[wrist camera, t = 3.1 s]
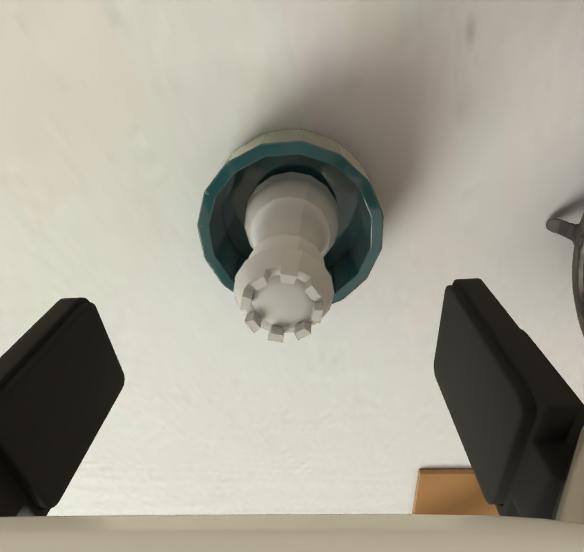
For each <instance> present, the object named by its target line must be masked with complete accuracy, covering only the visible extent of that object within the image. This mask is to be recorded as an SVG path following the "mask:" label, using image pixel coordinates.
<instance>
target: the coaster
mask: <svg viewBox="0 0 584 552" xmlns="http://www.w3.org/2000/svg"><path fill="white" fill-rule="evenodd" d="M412 514H429V515H490V516H500V515H499V513H498V511H497V508H496V506H495V504H488V503H487V501H486V500H485V498H484V496H483V493H482V491H481V488H480V486H479V483H478V481H477V478H476V476H475V473H474V471H473V469H419V473H418V480H417V486H416V493H415V500H414V506H413V513H412Z"/></svg>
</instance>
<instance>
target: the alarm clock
mask: <svg viewBox="0 0 584 552" xmlns="http://www.w3.org/2000/svg"><path fill="white" fill-rule="evenodd" d="M546 227H547V229H548V230H550V231H552V232H555V233H558V234H560V235H562V236H564V237H566V238H568V239H571V240H572V241H573V243H574V253H573V264H572V282H573V294H574V301H575V306H576V311H577V316H578V320H579V324H580V327H581V331H582V333H583V336H584V214H583V216H582V219H581V221H580V223H579V224H572V223H569V222H567V221H564V220H560V219H550V220H548V221H547V223H546Z"/></svg>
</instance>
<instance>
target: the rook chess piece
mask: <svg viewBox="0 0 584 552" xmlns="http://www.w3.org/2000/svg"><path fill="white" fill-rule="evenodd" d="M338 222H339V214H338V208H337V202H336V200H335V198H334V197H333V195H332V194H331V192H330V191H329V189H328V188H327V186H326V185H324V184H323V183H321V182H320V181H318V180H317V179H315V178H314V177H312V176H311V175H306V174H301V173H296V172H287V173H283V174H278V175H273V176H271V177H270V178H268V179H267V180H265V181H264V182H263V183H261V184H260V185H258V186H257V187H256V189H255V191H254V192H253V194H252V195H251V197H250V199H249V200H248V204H247V208H246V216H245V224H244V227H245V230H246V233H247V237H248V240H249V243H250V246H251V247H252V248H253V249H254V250H253V251H252V253H251V254H250V256H249V259H247V260H246V261H245V262H244V264H243V265H242V267H241V268H240V270H239V271H238V273H237V274H236V276H235V284H234V295H235V298H236V301H237V304H238V307H239V309H240V310H241V311H242V312H243V313H244V314H245V315H246V319H245V323H246V324H247V326H248V327H249V328H250V329H251V330H252V331H253V332H254V333H255V332H256V331H257V330H258V329H260V327H263V328H265V329H266V330H268V331H269V334H268V340H271V341H277V342H283V336H284V333H290V332H294V334H295V336H296V338H297V339H298V340H300V339H302V338H303V337H305V336H307V335H309V334H311V326H312V325H314V324H316V323H320V321H321V319H322V318H323V316H324V315H325V314H326V313H327V312H328V311H329V310H330V307H331V303H332V300H333V296H334V288H333V283H332V278H331V275H330V274H329V273H328V271H327V270H326V268H325V264H324V259H323V257H324V256H325V255H326V253H327V252H328V251H329V250H330V248H331V247H332V246H333V244H334V243H335V239H336V235H337V231H338V228H339V223H338Z"/></svg>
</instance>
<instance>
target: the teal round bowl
mask: <svg viewBox="0 0 584 552" xmlns="http://www.w3.org/2000/svg"><path fill="white" fill-rule="evenodd" d="M287 172H296V173H301V174H306V175H311V176H312V177H314V178H315V179H317V180H318V181H320V182H321V183H323V184H324V185H326V186H327V188H328V189H329V191H330V192H331V194H332V195H333V197H334V198H335V200H336V202H337V208H338V214H339V222H338V223H339V228H338V231H337V235H336V239H335V243H334V244H333V246H332V247H331V248H330V250H329V251H328V252H327V253H326V255H325V256H324V257H323V259H324V264H325V268H326V270H327V271H328V273H329V274H330V275H331V278H332V283H333V288H334V296H333V300H332V303H331V304H333V303H336V302H338V301H341V300H342V299H344V298H345V297H346V296H348V295H349V294H350V293H351V292H352V291H353V290H354V289H356V288H357V287H358V286H359V285H360V284H361V283H362V282H364V281H365V280H366V278H367V277H368V275H369V273H370V271H371V269H372V268H373V266H374V264H375V262H376V260H377V258H378V256H379V254H380V252H381V249H382V236H383V212H382V210H381V207H380V205H379V203H378V200H377V198H376V195H375V193H374V190H373V188H372V185H371V183H370V181H369V179H368V177H367V175H366V173H365V171H364V169H363V167H362V165H361V164H360V163H359V162H358V161H357V160H356V159H355V158H354V157H353V156H352V155H351V154H350V152H349V151H347V150H346V149H345V148H344V147H343V146H341V145H340V144H339V143H338V142H336V141H335V140H332V139H330V138H328V137H325V136H323V135H321V134H318V133H314V132H311V131H306V130H280V131H274V132H269V133H265V134H264V135H262V136H259V137H257V138H255V139H253V140H251V141H250V142H248V143H247V144H245V145H243V146H241V147H240V148H238V149H237V150H236V151H235V152H234V154H233V155H232V156H231V157H230V159H229V160H228V161H227V162H226V163H225V165H224V166H223V167H222V169H221V170H220V171H219V173H218V174H217V175H216V177H215V178H214V179H213V181H212V182H211V183H210V185H209V186H208V187H207V189H206V190H205V192H204V195H203V200H202V205H201V210H200V214H199V219H198V231H199V236H200V241H201V245H202V250H203V254H204V258H205V260H206V261H207V263H208V264H209V266H210V267H211V268H212V270H213V271H214V273H215V274H216V276H217V277H218V279H219V280H220V281H221V283H222V284H223V285H224V286H225V287H226V288H228V289H229V290H231V291H232V292H234V284H235V276H236V274H237V273H238V271H239V270H240V268H241V267H242V265H243V264H244V262H245V261H246V260H247V259H249V256H250V254H251V253H252V251H253V250H254V249H253V248H252V247H251V246H250V243H249V240H248V237H247V233H246V230H245V227H244V224H245V216H246V208H247V204H248V200H249V199H250V197H251V195H252V194H253V192H254V191H255V189H256V187H257V186H258V185H260V184H261V183H263V182H264V181H265V180H267V179H268V178H270V177H271V176H273V175H278V174H283V173H287Z"/></svg>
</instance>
